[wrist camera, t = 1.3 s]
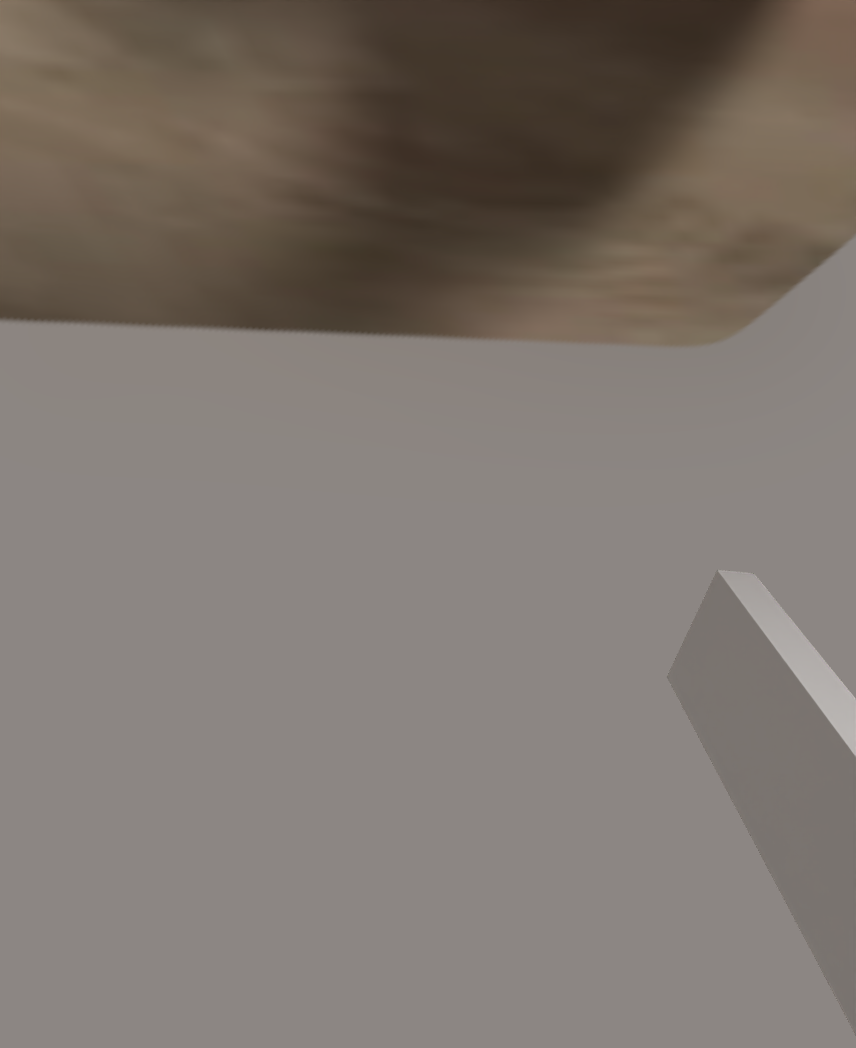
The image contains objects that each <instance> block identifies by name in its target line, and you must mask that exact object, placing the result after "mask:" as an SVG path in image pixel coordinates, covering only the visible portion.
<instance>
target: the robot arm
mask: <svg viewBox="0 0 856 1048" xmlns="http://www.w3.org/2000/svg"><path fill="white" fill-rule="evenodd" d="M667 678H668V680H669V682H670V684H671V686H672V688H673V690H674V691H675V693H676V695H677V697H678V699H679V701H680V703H681V705H682V707H683V709H684V710H685V712H686V714H687V716H688V718H689V720H690V722H691V724H692V725H693V728H694V730H695V731H696V733H697V735H698V737H699V739H700V741H701V743H702V745H703V747H704V748H705V750H706V752H707V754H708V756H709V758H710V760H711V762H712V764H713V766H714V767H715V769H716V771H717V773H718V775H719V777H720V779H721V781H722V783H723V784H724V786H725V788H726V790H727V792H728V794H729V796H730V798H731V800H732V802H733V803H734V805H735V807H736V809H737V811H738V813H739V815H740V817H741V819H742V820H743V822H744V824H745V826H746V828H747V830H748V832H749V834H750V836H751V837H752V839H753V841H754V843H755V845H756V847H757V849H758V851H759V853H760V855H761V857H762V858H763V860H764V862H765V864H766V866H767V868H768V869H769V872H770V874H771V875H772V877H773V879H774V881H775V883H776V885H777V887H778V889H779V891H780V893H781V894H782V896H783V898H784V900H785V902H786V904H787V906H788V908H789V909H790V911H791V913H792V915H793V917H794V919H795V921H796V923H797V924H798V927H799V929H800V930H801V932H802V934H803V936H804V938H805V940H806V942H807V944H808V946H809V948H810V949H811V951H812V953H813V955H814V957H815V959H816V961H817V962H818V965H819V966H820V968H821V970H822V972H823V974H824V976H825V978H826V980H827V981H828V984H829V985H830V987H831V989H832V991H833V993H834V995H835V997H836V999H837V1001H838V1002H839V1004H840V1006H841V1008H842V1010H843V1012H844V1014H845V1016H846V1018H847V1020H848V1022H849V1023H850V1025H851V1027H852V1029H853V1031H854V1033H855V1035H856V699H855V698H854V696H853V695H852V694H851V693H850V691H849V690H848V689H847V688H846V687H845V685H844V684H843V683H842V682H841V680H840V679H839V678H838V677H837V675H836V674H835V673H834V672H833V671H832V669H831V668H830V667H829V666H828V664H827V663H826V662H825V661H824V659H823V658H822V657H821V656H820V654H819V653H818V652H817V651H816V649H815V648H814V647H813V646H812V645H811V643H810V642H809V641H808V640H807V638H806V637H805V636H804V635H803V633H802V632H801V631H800V630H799V629H798V628H797V626H796V625H795V624H794V622H793V621H792V620H791V619H790V617H789V616H788V615H787V614H786V612H785V611H784V610H783V609H782V608H781V606H780V605H779V604H778V603H777V601H776V600H775V599H774V598H773V596H772V595H771V594H770V593H769V592H768V590H767V589H766V588H765V587H764V585H763V584H762V583H761V582H760V581H759V579H758V578H757V577H756V576H755V574H754V573H744V572H733V571H723V570H717V571H716V574H715V576H714V578H713V580H712V582H711V584H710V586H709V588H708V590H707V593H706V595H705V597H704V599H703V601H702V603H701V605H700V608H699V610H698V612H697V614H696V616H695V618H694V620H693V622H692V624H691V627H690V629H689V631H688V633H687V635H686V637H685V639H684V641H683V644H682V646H681V648H680V650H679V652H678V654H677V656H676V658H675V661H674V663H673V665H672V667H671V669H670V671H669V673H668V676H667Z"/></svg>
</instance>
